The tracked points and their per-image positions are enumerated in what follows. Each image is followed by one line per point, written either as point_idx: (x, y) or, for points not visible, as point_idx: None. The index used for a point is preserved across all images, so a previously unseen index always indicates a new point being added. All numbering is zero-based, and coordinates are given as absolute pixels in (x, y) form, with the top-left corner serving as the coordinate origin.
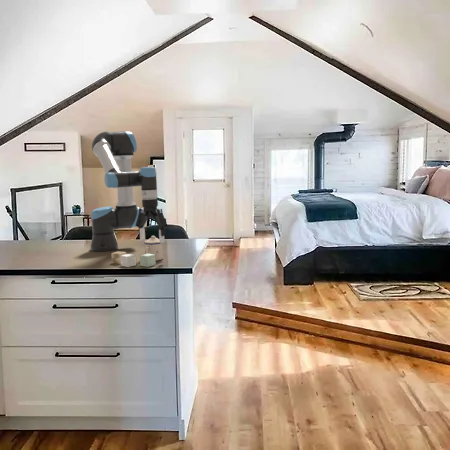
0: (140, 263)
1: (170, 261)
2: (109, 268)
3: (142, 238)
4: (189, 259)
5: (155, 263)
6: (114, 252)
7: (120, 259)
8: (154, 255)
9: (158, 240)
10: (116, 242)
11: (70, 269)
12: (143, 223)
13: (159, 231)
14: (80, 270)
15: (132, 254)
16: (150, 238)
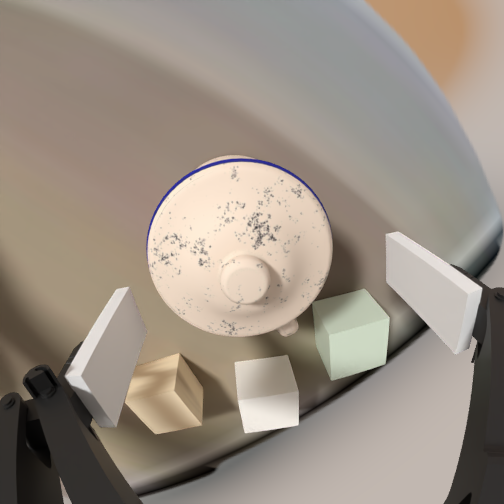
0: (319, 352)
1: (371, 188)
2: (252, 432)
3: (136, 332)
4: (410, 87)
5: (367, 292)
6: (144, 421)
7: (200, 399)
8: (386, 319)
9: (309, 242)
10: None
11: (169, 478)
12: (105, 457)
13: (450, 339)
14: (205, 473)
15: (275, 397)
16: (234, 303)
